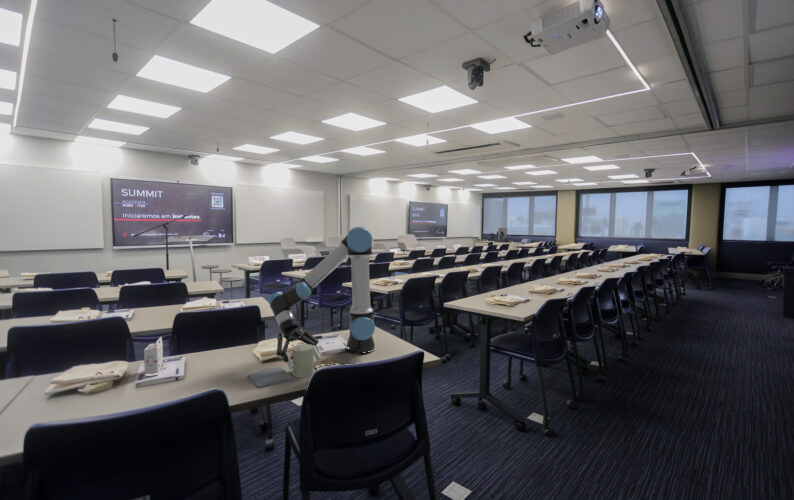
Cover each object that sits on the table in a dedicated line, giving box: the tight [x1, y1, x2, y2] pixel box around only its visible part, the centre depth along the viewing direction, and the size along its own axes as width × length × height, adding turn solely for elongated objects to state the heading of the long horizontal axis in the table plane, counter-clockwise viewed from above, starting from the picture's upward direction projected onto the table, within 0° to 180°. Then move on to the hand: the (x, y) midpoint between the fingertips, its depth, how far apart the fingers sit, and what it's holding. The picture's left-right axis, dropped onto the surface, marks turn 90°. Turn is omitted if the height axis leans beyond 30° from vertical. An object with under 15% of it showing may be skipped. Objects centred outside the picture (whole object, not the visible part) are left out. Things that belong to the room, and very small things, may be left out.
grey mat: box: [247, 366, 294, 389], centre depth 146 cm, size 14×14×1 cm
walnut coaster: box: [314, 357, 338, 370], centre depth 160 cm, size 11×11×1 cm
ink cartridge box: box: [143, 336, 164, 375], centre depth 148 cm, size 9×5×15 cm, turn 22°
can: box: [291, 343, 315, 378], centre depth 151 cm, size 9×9×12 cm
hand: (305, 363), depth 149 cm, fingers open, 13 cm apart
